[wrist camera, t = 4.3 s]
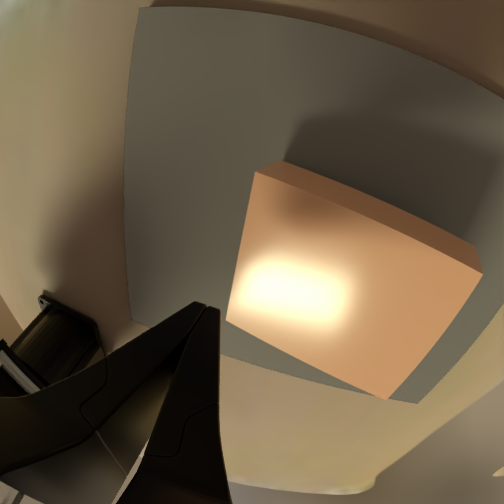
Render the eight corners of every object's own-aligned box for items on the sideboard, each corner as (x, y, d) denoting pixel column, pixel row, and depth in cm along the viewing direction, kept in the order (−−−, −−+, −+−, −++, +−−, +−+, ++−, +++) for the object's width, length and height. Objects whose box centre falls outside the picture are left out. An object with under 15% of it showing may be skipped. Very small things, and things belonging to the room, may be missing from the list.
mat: (135, 313, 20) (131, 319, 20) (147, 9, 10) (139, 7, 10) (416, 396, 18) (417, 403, 18) (571, 151, 8) (578, 154, 8)
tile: (225, 320, 14) (385, 400, 12) (255, 171, 10) (483, 274, 8) (250, 293, 16) (395, 364, 13) (283, 158, 12) (474, 243, 10)
